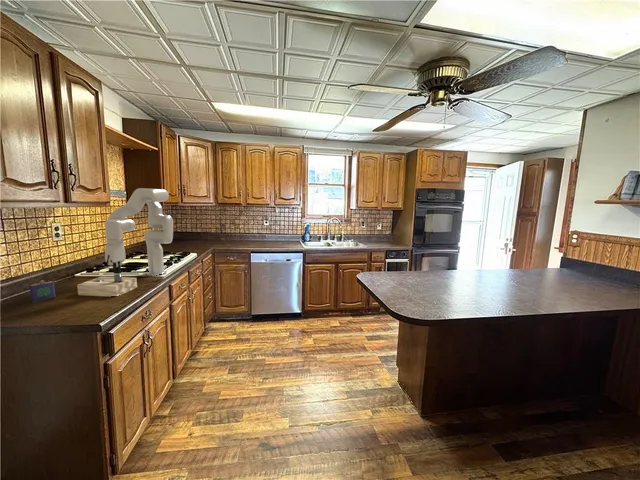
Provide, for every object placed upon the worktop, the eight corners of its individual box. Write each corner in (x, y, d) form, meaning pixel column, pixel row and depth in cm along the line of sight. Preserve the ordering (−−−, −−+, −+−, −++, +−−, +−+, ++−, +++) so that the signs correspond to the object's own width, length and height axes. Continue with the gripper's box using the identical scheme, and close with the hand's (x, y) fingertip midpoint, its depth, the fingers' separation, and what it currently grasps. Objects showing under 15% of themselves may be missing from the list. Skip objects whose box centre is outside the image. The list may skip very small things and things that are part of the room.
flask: (54, 296, 148) (52, 277, 147) (56, 297, 147) (54, 278, 145) (30, 302, 140) (28, 281, 138) (33, 303, 139) (30, 282, 137)
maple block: (102, 285, 167) (101, 276, 166) (137, 287, 166) (136, 277, 165) (78, 295, 151) (77, 284, 150) (116, 296, 151) (116, 286, 150)
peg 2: (117, 283, 160) (117, 273, 159) (123, 283, 160) (123, 274, 159) (113, 284, 156) (112, 275, 155) (119, 285, 156) (118, 275, 155)
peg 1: (98, 288, 161) (97, 279, 160) (104, 288, 161) (103, 279, 160) (93, 290, 157) (92, 281, 156) (99, 290, 157) (98, 281, 156)
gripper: (118, 239, 162) (120, 269, 164) (97, 243, 147) (100, 276, 150) (130, 240, 161) (133, 270, 164) (110, 244, 147) (113, 277, 149)
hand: (117, 273), depth 157 cm, fingers closed
